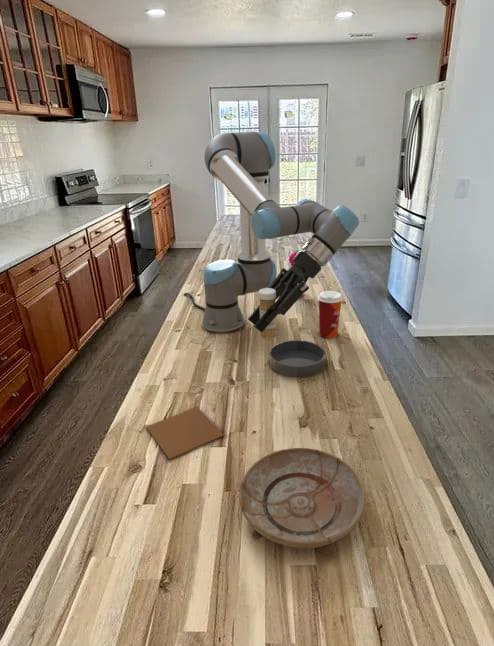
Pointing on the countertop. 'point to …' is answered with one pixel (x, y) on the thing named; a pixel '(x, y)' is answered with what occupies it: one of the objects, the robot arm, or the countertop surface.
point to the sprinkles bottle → (266, 300)
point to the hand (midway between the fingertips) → (254, 325)
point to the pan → (297, 358)
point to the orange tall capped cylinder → (329, 313)
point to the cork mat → (184, 432)
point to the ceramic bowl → (302, 497)
